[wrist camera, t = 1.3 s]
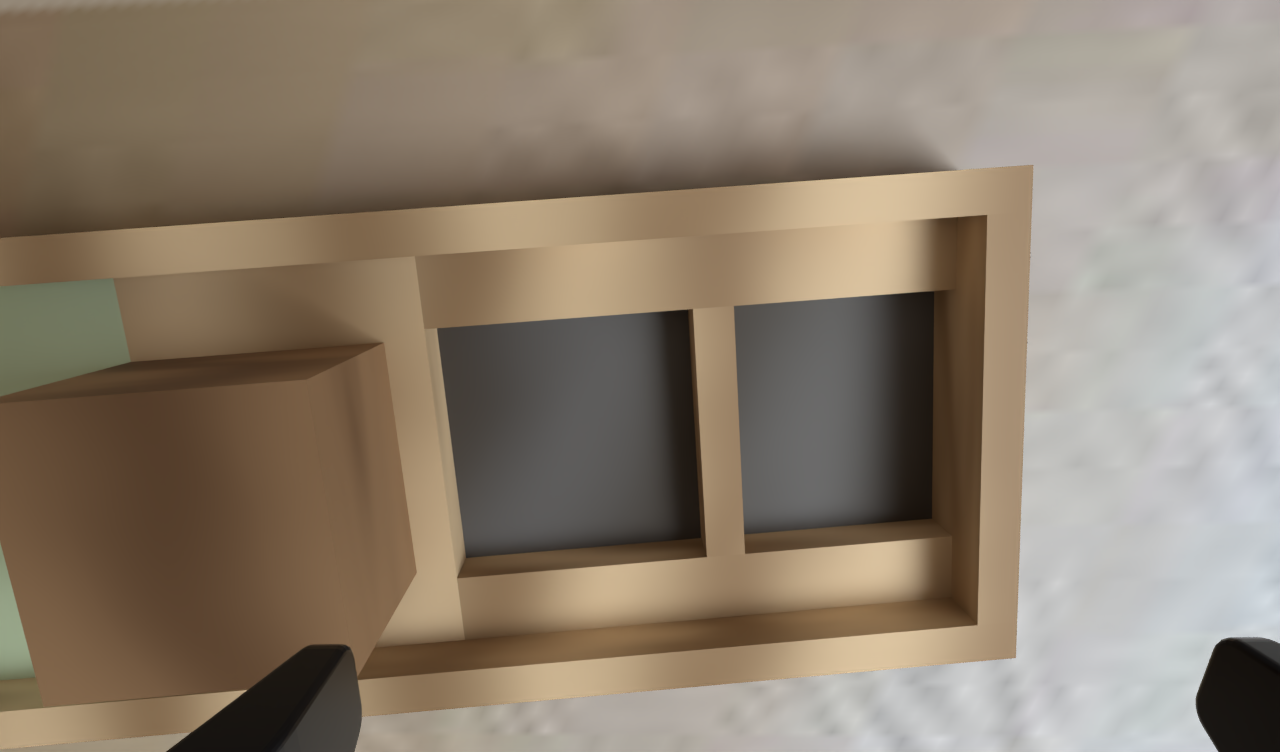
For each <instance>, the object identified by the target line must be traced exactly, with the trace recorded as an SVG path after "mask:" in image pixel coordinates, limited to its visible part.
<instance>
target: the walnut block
mask: <svg viewBox="0 0 1280 752" xmlns="http://www.w3.org/2000/svg"><path fill="white" fill-rule="evenodd" d="M0 543H1V547H2V551H3V555H4V559H5V562H6V566H7V570H8V574H9V578H10V581H11V585H12V589H13V593H14V597H15V600H16V604H17V608H18V612H19V616H20V619H21V623H22V627H23V631H24V635H25V638H26V642H27V646H28V650H29V654H30V657H31V661H32V665H33V669H34V673H35V676H36V680H37V684H38V688H39V692H40V695H41V699H42V703H43V707H49V706H61V705H72V704H83V703H94V702H106V701H117V700H128V699H139V698H151V697H162V696H173V695H185V694H196V693H207V692H218V691H230V690H241V689H249V688H251V687H252V686H253V685H255V684H256V683H257V682H259V681H260V680H261V679H263V678H264V677H265V676H267V675H268V674H269V673H271V672H272V671H273V670H274V669H276V668H277V667H278V666H280V665H281V664H282V663H284V662H285V661H286V660H288V659H289V658H290V657H292V656H293V655H294V654H296V653H297V652H298V651H300V650H301V649H303V648H304V647H306V646H308V645H313V644H345V645H347V646H349V647H350V648H351V650H352V652H353V654H354V659H355V665H356V672H357V677H358V675H359V674H360V672H361V670H362V668H363V667H364V665H365V663H366V661H367V660H368V658H369V656H370V654H371V652H372V651H373V649H374V647H375V645H376V644H377V642H378V640H379V638H380V637H381V635H382V633H383V631H384V630H385V628H386V626H387V624H388V623H389V621H390V619H391V617H392V616H393V614H394V612H395V610H396V609H397V607H398V605H399V603H400V602H401V600H402V598H403V596H404V595H405V593H406V591H407V589H408V588H409V586H410V584H411V582H412V580H413V579H414V577H415V575H416V573H417V570H416V563H415V556H414V549H413V542H412V535H411V528H410V521H409V514H408V507H407V500H406V493H405V486H404V479H403V472H402V465H401V458H400V451H399V444H398V437H397V430H396V423H395V416H394V409H393V402H392V395H391V388H390V381H389V374H388V367H387V360H386V353H385V346H384V343H373V344H360V345H347V346H334V347H321V348H307V349H294V350H281V351H268V352H255V353H241V354H228V355H215V356H202V357H189V358H175V359H162V360H149V361H136V362H129V363H125V364H121V365H117V366H113V367H110V368H106V369H102V370H98V371H95V372H91V373H87V374H83V375H80V376H76V377H72V378H68V379H64V380H61V381H57V382H53V383H49V384H46V385H42V386H38V387H34V388H30V389H27V390H23V391H19V392H15V393H12V394H8V395H4V396H0Z"/></svg>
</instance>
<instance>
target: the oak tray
mask: <svg viewBox="0 0 1280 752" xmlns="http://www.w3.org/2000/svg"><path fill="white" fill-rule="evenodd" d="M1032 187H1033V165H1025V166H1011V167H997V168H983V169H969V170H955V171H941V172H926V173H912V174H898V175H884V176H870V177H856V178H842V179H827V180H813V181H799V182H785V183H771V184H757V185H743V186H728V187H714V188H700V189H686V190H672V191H658V192H643V193H629V194H615V195H601V196H587V197H573V198H559V199H544V200H530V201H516V202H502V203H488V204H474V205H460V206H445V207H431V208H417V209H403V210H389V211H375V212H361V213H346V214H332V215H318V216H304V217H290V218H276V219H261V220H247V221H233V222H219V223H205V224H191V225H177V226H162V227H148V228H134V229H120V230H106V231H92V232H78V233H63V234H49V235H35V236H21V237H7V238H0V286H12V285H26V284H40V283H54V282H68V281H81V280H95V279H109V278H113V280H114V285H115V290H116V294H117V299H118V304H119V308H120V313H121V318H122V322H123V327H124V332H125V336H126V341H127V346H128V351H129V355H130V360H131V362H136V361H149V360H162V359H175V358H189V357H202V356H215V355H228V354H241V353H255V352H268V351H281V350H294V349H307V348H321V347H334V346H347V345H360V344H373V343H384V346H385V353H386V360H387V367H388V374H389V381H390V388H391V395H392V402H393V409H394V416H395V423H396V430H397V437H398V444H399V451H400V458H401V465H402V472H403V479H404V486H405V493H406V500H407V507H408V514H409V521H410V528H411V535H412V542H413V549H414V556H415V563H416V570H417V573H416V575H415V577H414V579H413V580H412V582H411V584H410V586H409V588H408V589H407V591H406V593H405V595H404V596H403V598H402V600H401V602H400V603H399V605H398V607H397V609H396V610H395V612H394V614H393V616H392V617H391V619H390V621H389V623H388V624H387V626H386V628H385V630H384V631H383V633H382V635H381V637H380V638H379V640H378V642H377V644H376V645H375V647H374V649H373V651H372V652H371V654H370V656H369V658H368V660H367V661H366V663H365V665H364V667H363V668H362V670H361V672H360V674H359V675H358V677H357V678H358V684H359V691H360V697H361V704H362V717H365V716H376V715H387V714H398V713H409V712H420V711H431V710H442V709H453V708H465V707H476V706H487V705H498V704H509V703H520V702H531V701H542V700H553V699H564V698H575V697H587V696H598V695H609V694H620V693H631V692H642V691H653V690H664V689H675V688H686V687H698V686H709V685H720V684H731V683H742V682H753V681H764V680H775V679H786V678H797V677H809V676H820V675H831V674H842V673H853V672H864V671H875V670H886V669H897V668H908V667H920V666H931V665H942V664H953V663H964V662H975V661H986V660H997V659H1008V658H1016V636H1017V608H1018V580H1019V552H1020V524H1021V496H1022V468H1023V439H1024V411H1025V383H1026V355H1027V327H1028V299H1029V271H1030V243H1031V215H1032ZM247 690H248V689H241V690H230V691H218V692H207V693H196V694H185V695H173V696H162V697H151V698H139V699H128V700H117V701H106V702H94V703H83V704H72V705H61V706H49V707H43V703H42V699H41V695H40V692H39V688H38V684H37V680H36V677H35V678H23V679H12V680H0V749H10V748H21V747H32V746H43V745H54V744H65V743H76V742H87V741H98V740H109V739H120V738H132V737H143V736H154V735H165V734H176V733H187V732H193V731H194V730H195V729H197V728H198V727H199V726H201V725H202V724H203V723H205V722H206V721H207V720H209V719H210V718H211V717H213V716H214V715H215V714H217V713H218V712H219V711H220V710H222V709H223V708H224V707H226V706H227V705H228V704H230V703H231V702H232V701H234V700H235V699H236V698H238V697H239V696H240V695H242V694H243V693H244V692H246V691H247Z"/></svg>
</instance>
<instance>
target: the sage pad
mask: <svg viewBox="0 0 1280 752" xmlns="http://www.w3.org/2000/svg"><path fill="white" fill-rule="evenodd" d="M129 362H131V360H130V355H129V351H128V346H127V341H126V336H125V332H124V327H123V322H122V318H121V313H120V308H119V304H118V299H117V294H116V290H115V285H114V280H113V278H109V279H95V280H81V281H68V282H54V283H40V284H26V285H12V286H0V396H4V395H8V394H12V393H15V392H19V391H23V390H27V389H30V388H34V387H38V386H42V385H46V384H49V383H53V382H57V381H61V380H64V379H68V378H72V377H76V376H80V375H83V374H87V373H91V372H95V371H98V370H102V369H106V368H110V367H113V366H117V365H121V364H125V363H129ZM35 677H36V676H35V673H34V669H33V665H32V661H31V657H30V654H29V650H28V646H27V642H26V638H25V635H24V631H23V627H22V623H21V619H20V616H19V612H18V608H17V604H16V600H15V597H14V593H13V589H12V585H11V581H10V578H9V574H8V570H7V566H6V562H5V559H4V555H3V551H2V547H1V543H0V680H12V679H23V678H35Z"/></svg>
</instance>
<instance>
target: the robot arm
mask: <svg viewBox="0 0 1280 752" xmlns="http://www.w3.org/2000/svg"><path fill="white" fill-rule="evenodd" d="M1196 710H1197V714H1198V717H1199V720H1200V722H1201V724H1202V726H1203V727H1204V729H1205V731H1206V732H1207V734H1208V736H1209V737H1210V739H1211V740H1212V742H1213V744H1214V745H1215V747H1216V749H1217V750H1218V752H1280V643H1277V642H1275V641H1272V640H1270V639H1266V638H1259V637H1236V638H1226V639H1222V640H1221V641H1220V642H1219V643H1218V644H1217V645H1216V646H1215V648H1214V650H1213V652H1212V655H1211V658H1210V660H1209V663H1208V666H1207V668H1206V671H1205V674H1204V676H1203V679H1202V682H1201V684H1200V687H1199V690H1198V692H1197V696H1196ZM361 721H362V704H361V697H360V691H359V684H358V678H357V672H356V665H355V659H354V654H353V652H352V650H351V648H350V647H349V646H347V645H345V644H313V645H308V646H306V647H304V648H303V649H301V650H300V651H298V652H297V653H296V654H294V655H293V656H292V657H290V658H289V659H288V660H286V661H285V662H284V663H282V664H281V665H280V666H278V667H277V668H276V669H274V670H273V671H272V672H271V673H269V674H268V675H267V676H265V677H264V678H263V679H261V680H260V681H259V682H257V683H256V684H255V685H253V686H252V687H251V688H249V689H248V690H247V691H246V692H244V693H243V694H242V695H240V696H239V697H238V698H236V699H235V700H234V701H232V702H231V703H230V704H228V705H227V706H226V707H224V708H223V709H222V710H220V711H219V712H218V713H217V714H215V715H214V716H213V717H211V718H210V719H209V720H207V721H206V722H205V723H203V724H202V725H201V726H199V727H198V728H197V729H195V730H194V731H193V732H191V733H190V734H189V735H188V736H186V737H185V738H184V739H182V740H181V741H180V742H178V743H177V744H176V745H174V746H173V747H172V748H170V749H169V750H168V751H166V752H354V751H355V748H356V744H357V740H358V736H359V732H360V728H361Z"/></svg>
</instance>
